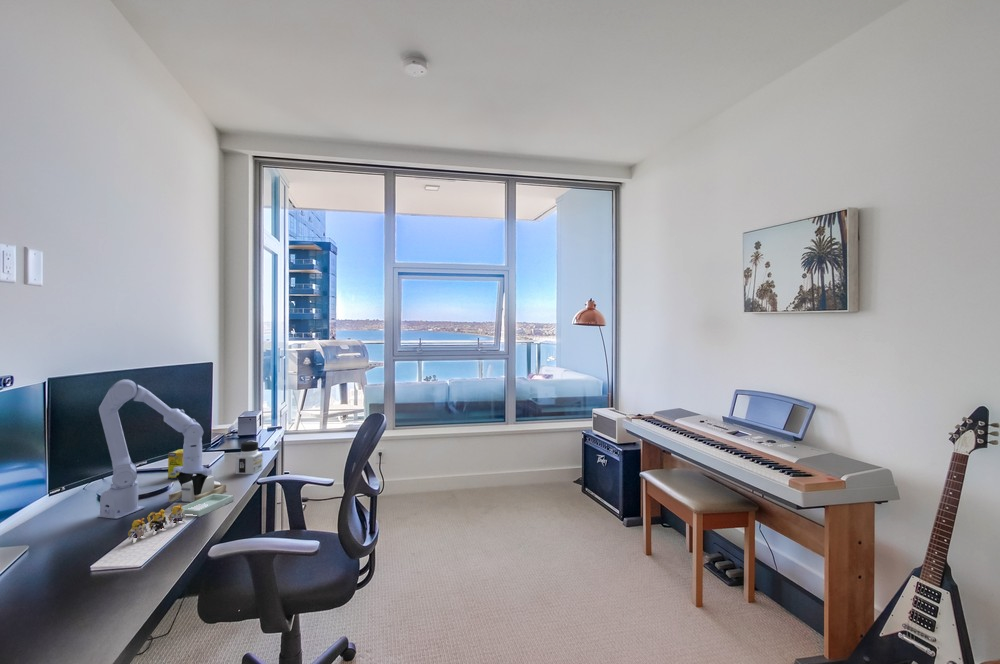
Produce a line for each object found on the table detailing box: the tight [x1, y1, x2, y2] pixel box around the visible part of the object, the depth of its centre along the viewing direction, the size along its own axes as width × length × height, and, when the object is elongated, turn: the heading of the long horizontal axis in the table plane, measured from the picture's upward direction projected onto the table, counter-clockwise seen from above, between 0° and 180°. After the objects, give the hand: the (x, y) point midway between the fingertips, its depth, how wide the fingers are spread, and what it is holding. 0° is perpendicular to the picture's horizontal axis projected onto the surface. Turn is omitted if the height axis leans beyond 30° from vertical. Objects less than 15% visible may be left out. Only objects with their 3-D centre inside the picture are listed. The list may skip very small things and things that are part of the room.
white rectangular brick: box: [180, 475, 215, 503], centre depth 166 cm, size 11×4×6 cm, turn 169°
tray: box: [181, 493, 235, 518], centre depth 156 cm, size 15×9×2 cm, turn 168°
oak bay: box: [168, 483, 227, 503], centre depth 166 cm, size 13×12×2 cm
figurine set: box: [127, 504, 187, 540], centre depth 137 cm, size 3×16×7 cm, turn 161°
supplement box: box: [167, 448, 183, 480], centre depth 188 cm, size 6×6×11 cm
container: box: [235, 440, 264, 475], centre depth 196 cm, size 8×8×13 cm
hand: (192, 493), depth 163 cm, fingers closed on white rectangular brick, 4 cm apart
